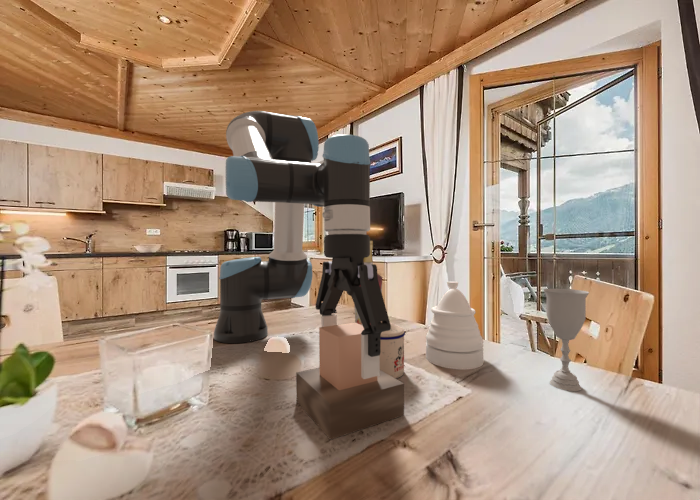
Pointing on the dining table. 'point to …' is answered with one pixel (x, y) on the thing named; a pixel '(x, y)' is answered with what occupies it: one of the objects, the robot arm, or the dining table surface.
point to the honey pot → (454, 333)
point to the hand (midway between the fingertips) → (347, 362)
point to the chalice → (566, 329)
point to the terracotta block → (341, 355)
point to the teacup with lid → (392, 351)
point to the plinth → (349, 402)
